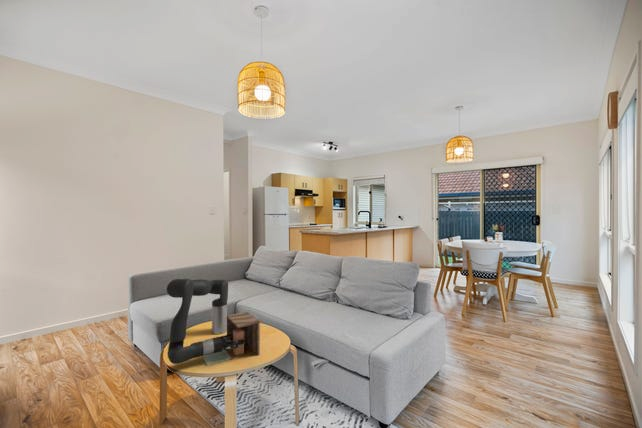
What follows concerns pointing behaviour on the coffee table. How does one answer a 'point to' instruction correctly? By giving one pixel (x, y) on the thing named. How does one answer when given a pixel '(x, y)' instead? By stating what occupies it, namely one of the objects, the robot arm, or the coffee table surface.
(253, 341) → the walnut box
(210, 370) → the coffee table surface
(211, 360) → the sage mat
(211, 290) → the robot arm
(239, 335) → the terracotta block
